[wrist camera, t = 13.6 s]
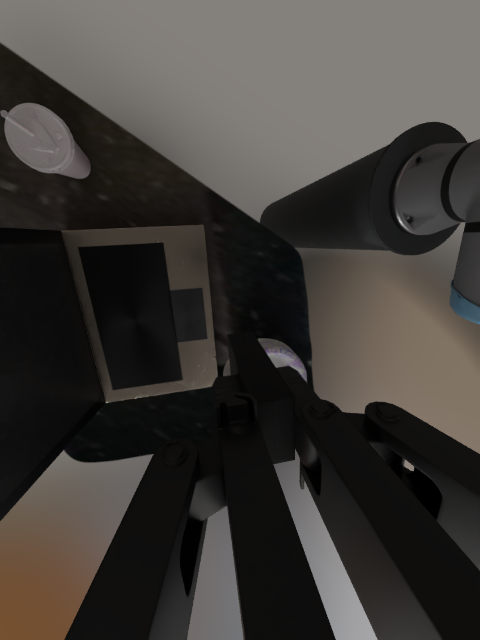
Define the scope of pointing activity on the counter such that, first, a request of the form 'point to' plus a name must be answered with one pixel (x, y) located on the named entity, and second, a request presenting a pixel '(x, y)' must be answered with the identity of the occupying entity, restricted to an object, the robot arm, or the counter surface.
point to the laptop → (146, 307)
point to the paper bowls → (277, 356)
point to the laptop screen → (40, 359)
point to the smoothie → (44, 141)
